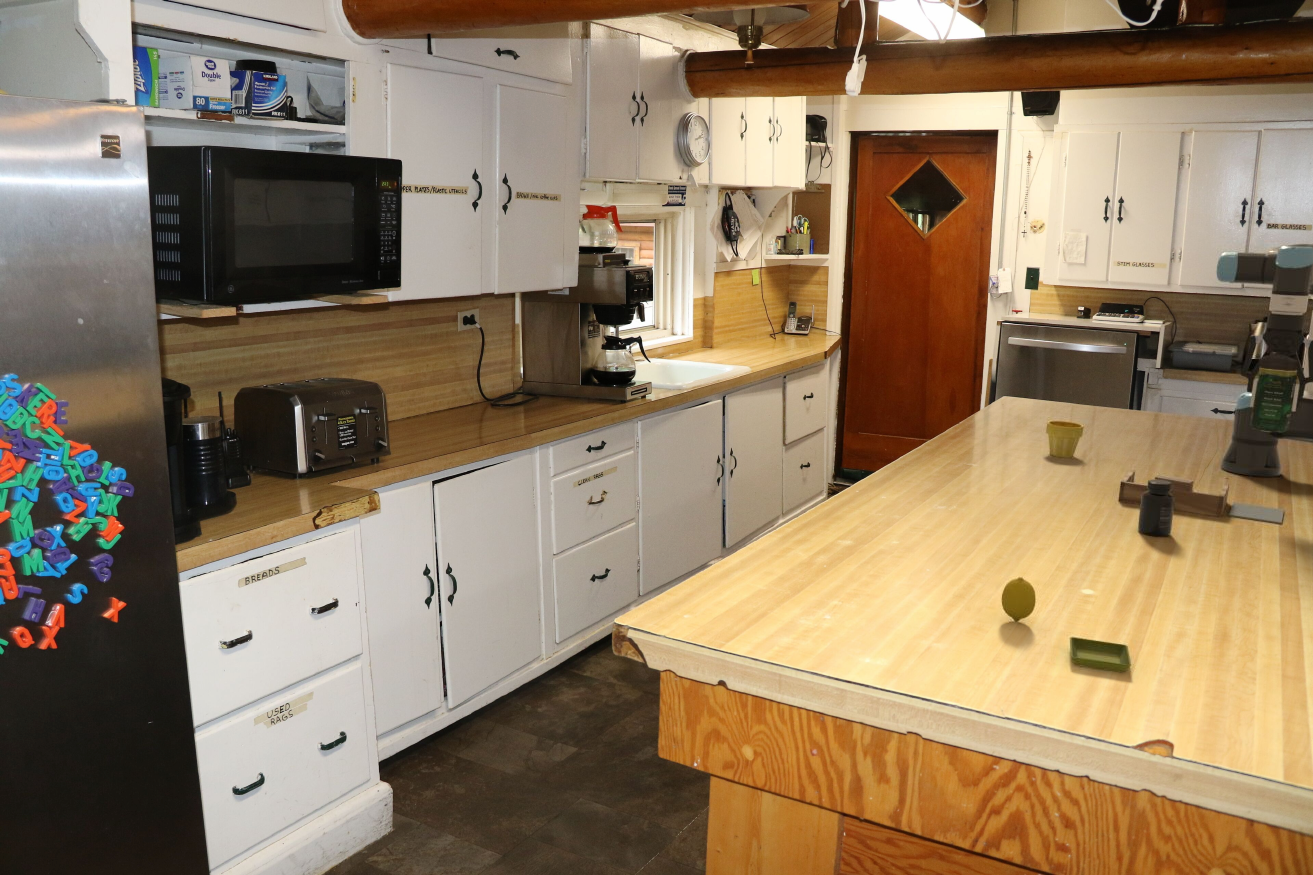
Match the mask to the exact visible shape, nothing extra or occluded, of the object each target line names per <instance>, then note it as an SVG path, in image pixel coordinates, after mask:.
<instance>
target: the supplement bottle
mask: <svg viewBox="0 0 1313 875" xmlns="http://www.w3.org/2000/svg"><path fill="white" fill-rule="evenodd" d="M1147 485H1148V486H1147V489H1148V491H1146V492H1144V493H1143V494H1142V496H1141V504H1139V505H1140V506H1139V517H1138V525H1137V529H1138V532H1139V533H1140V534H1143V535H1146V536H1151V537H1160V538H1161V537H1168V536H1170V535H1171V534H1172V529H1173V528H1172V526H1173V519H1174V502H1175V499H1174V496H1173V495H1172V494H1170V491H1171V482H1169V481H1165V480H1155V479H1148V480H1147Z"/></svg>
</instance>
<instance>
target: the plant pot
mask: <svg viewBox="0 0 1313 875" xmlns="http://www.w3.org/2000/svg"><path fill="white" fill-rule="evenodd" d="M1045 428H1046V429H1045V430H1046V434H1047V435H1048V436H1047V437H1048V446H1049V447H1048V448H1049V454H1050V455H1051V456H1053V457H1058V458H1066V459H1068V458H1072V457H1074V454H1075V452H1076V449H1077V447H1078V445H1079V444H1078V443H1079V441H1080V438H1082V437H1083V434H1084V425H1083V424H1081V423H1079V422H1073V421H1067V420H1049V421H1047V422H1046V427H1045Z"/></svg>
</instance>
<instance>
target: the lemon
mask: <svg viewBox="0 0 1313 875" xmlns="http://www.w3.org/2000/svg"><path fill="white" fill-rule="evenodd" d="M1036 600H1037V599H1036V591H1035V588H1034V586H1033V585H1032V584H1031V583H1030V582H1029V581H1028V580H1025V579H1024V578H1023V577H1021V576H1019V577H1017V578H1014V579H1012V580H1010V581H1009V582H1007V583H1006V585H1005V586H1004V588H1003V590H1002V594H1001V606H1002V610H1003V611H1004V612H1005V614H1006V615H1007V616H1009V617H1010V618H1012V619H1013V621H1014V622H1019V621H1020V620H1024V619H1026V618H1028V617H1029V616H1030V615H1031V614H1032V613H1033V612H1034V609H1035V606H1036Z"/></svg>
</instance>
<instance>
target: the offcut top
mask: <svg viewBox="0 0 1313 875" xmlns="http://www.w3.org/2000/svg"><path fill="white" fill-rule="evenodd" d="M1154 480H1165V481H1169V482H1171V488H1173V489H1179V490H1186V491H1192V490H1193V488H1194V483H1195V482H1194V479H1188V478H1183V477H1179V476H1178V477H1176V476H1171V475H1166V474H1159V473H1158V474H1157V475H1156V476H1154Z"/></svg>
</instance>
